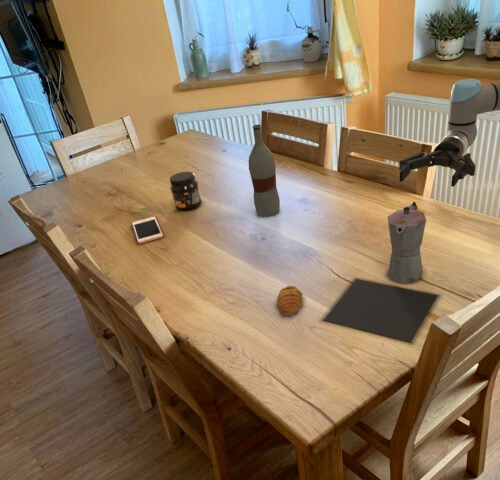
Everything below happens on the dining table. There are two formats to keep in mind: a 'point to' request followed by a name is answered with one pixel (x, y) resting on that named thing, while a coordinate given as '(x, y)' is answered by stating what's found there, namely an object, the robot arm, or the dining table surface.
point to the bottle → (263, 177)
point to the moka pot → (406, 244)
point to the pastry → (289, 300)
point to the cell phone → (147, 230)
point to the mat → (382, 309)
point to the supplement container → (185, 191)
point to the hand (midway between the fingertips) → (426, 179)
